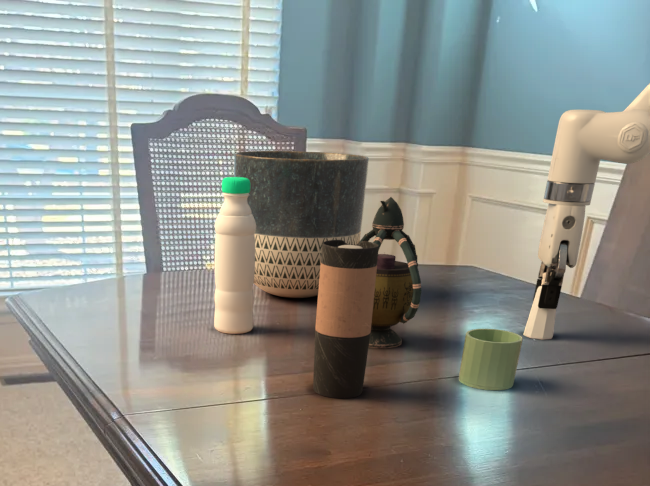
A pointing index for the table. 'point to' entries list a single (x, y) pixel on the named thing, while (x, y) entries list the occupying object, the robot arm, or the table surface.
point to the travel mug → (344, 317)
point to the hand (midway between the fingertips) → (544, 304)
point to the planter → (300, 213)
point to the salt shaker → (540, 319)
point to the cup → (490, 359)
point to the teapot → (392, 278)
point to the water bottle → (234, 259)
